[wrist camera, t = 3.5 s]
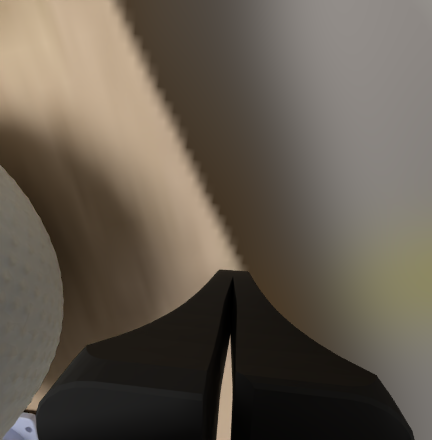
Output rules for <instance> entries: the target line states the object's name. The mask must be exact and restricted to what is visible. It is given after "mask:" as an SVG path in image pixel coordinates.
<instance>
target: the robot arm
mask: <svg viewBox="0 0 432 440" xmlns="http://www.w3.org/2000/svg"><path fill="white" fill-rule="evenodd" d="M230 334H231V359H232V383H233V400H232V423H231V440H414V436H413V432H412V430H411V428H410V426H409V425H408V423H407V421H406V420H405V418H404V416H403V415H402V413H401V411H400V410H399V408H398V406H397V405H396V403H395V401H394V400H393V398H392V397H391V395H390V394H389V392H388V391H387V390H386V388H385V387H384V385H383V384H382V383H381V381H380V380H379V379H378V377H377V375H375V374H373V373H371V372H369V371H367V370H365V369H363V368H361V367H359V366H357V365H355V364H353V363H351V362H349V361H348V360H346V359H343V358H341V357H340V356H338V355H336V354H335V353H333V352H331V351H330V350H328V349H326V348H325V347H323V346H321V345H320V344H318V343H317V342H315V341H314V340H312V339H311V338H309V337H308V336H307V335H305V334H304V333H303V332H301V331H300V330H299V329H297V328H296V327H295V326H293V325H292V324H291V323H290V322H289V321H287V319H285V318H284V317H283V316H282V315H281V314H280V313H279V312H278V311H277V310H276V309H275V308H274V307H273V306H272V305H271V303H270V302H269V301H268V300H267V299H266V297H265V296H264V295H263V293H262V292H261V291H260V289H259V288H258V286H257V285H256V283H255V282H254V280H253V278H252V277H251V275H250V273H249V272H247V271H233V270H219V271H217V273H216V274H215V275H214V276H213V277H212V278H211V279H210V281H209V282H208V283H207V284H206V285H205V286H204V287H203V288H202V289H201V290H200V291H199V292H197V293H196V294H195V295H194V296H193V297H192V298H190V299H189V300H188V301H187V302H186V303H184V304H183V305H181V306H180V307H178V308H177V309H175V310H174V311H172V312H170V313H169V314H167V315H165V316H163V317H161V318H159V319H157V320H155V321H154V322H152V323H149V324H147V325H145V326H143V327H140V328H138V329H135V330H133V331H130V332H128V333H125V334H122V335H119V336H116V337H113V338H110V339H107V340H103V341H100V342H97V343H93V344H90V345H87V346H86V347H85V348H84V349H83V350H82V351H81V352H80V353H79V354H78V355H77V357H76V358H75V359H74V360H73V361H72V362H71V364H70V365H69V366H68V367H67V369H66V370H65V371H64V372H63V374H62V375H61V376H60V377H59V379H58V380H57V381H56V382H55V384H54V385H53V386H52V387H51V389H50V390H49V391H48V392H47V394H46V395H45V396H44V397H43V399H42V400H41V401H40V402H39V405H38V408H37V412H36V415H34V414H32V413H24V412H22V413H21V415H20V416H19V418H18V420H17V421H16V423H15V424H14V425H13V426H12V427H11V428H10V430H9V431H8V432H7V433H6V434H5V436H4V437H3V439H2V440H216V435H217V424H218V412H219V401H220V392H221V384H222V379H223V373H224V367H225V362H226V356H227V350H228V345H229V339H230Z"/></svg>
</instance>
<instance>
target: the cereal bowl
mask: <svg viewBox="0 0 432 440" xmlns="http://www.w3.org/2000/svg"><path fill="white" fill-rule="evenodd" d="M63 304H64V298H63V283H62V280H61V271H60V269H59V263H58V260H57V256H56V252H55V250H54V247H53V245H52V243H51V241H50V236H49V234H48V233H47V231H46V229H45V227H44V225H43V223H42V221H41V218H40V217H39V216H38V214H37V213H36V211H35V209H34V207H33V205H32V204H31V203H30V200H29V198H28V197H27V196H26V195H25V194H24V193H23V191H22V190H21V188H20V187H19V186H18V185H17V183H16V181H15V180H14V179H13V178H12V177H11V176H10V175H8V173H7V172H6V170H5V169H4V168H3V167H2V166H1V165H0V440H2V439H3V437H4V436H5V434H6V433H7V432H8V431H9V430H10V428H11V427H12V426H13V425H14V424H15V423H16V421H17V420H18V418H19V416H20V415H21V413H22V412H23V411H24V410H25V409H26V408H27V406H28V405H29V404H30V403H31V401H32V398H33V396H34V394H35V393H36V392H37V391H38V390H39V388H40V386H41V384H42V382H43V379H44V378H45V376H46V375H47V373H48V371H49V368H50V364H51V362H52V361H53V359H54V357H55V355H56V348H57V346H58V344H59V342H60V333H61V330H62V320H63Z"/></svg>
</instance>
